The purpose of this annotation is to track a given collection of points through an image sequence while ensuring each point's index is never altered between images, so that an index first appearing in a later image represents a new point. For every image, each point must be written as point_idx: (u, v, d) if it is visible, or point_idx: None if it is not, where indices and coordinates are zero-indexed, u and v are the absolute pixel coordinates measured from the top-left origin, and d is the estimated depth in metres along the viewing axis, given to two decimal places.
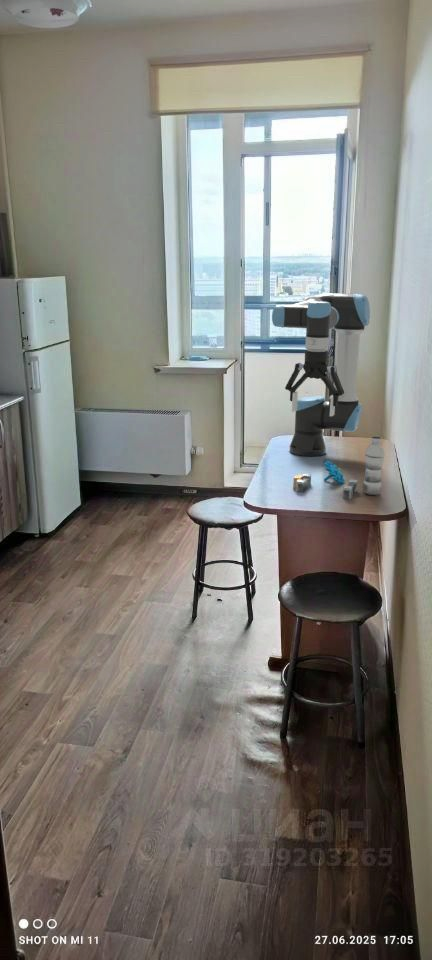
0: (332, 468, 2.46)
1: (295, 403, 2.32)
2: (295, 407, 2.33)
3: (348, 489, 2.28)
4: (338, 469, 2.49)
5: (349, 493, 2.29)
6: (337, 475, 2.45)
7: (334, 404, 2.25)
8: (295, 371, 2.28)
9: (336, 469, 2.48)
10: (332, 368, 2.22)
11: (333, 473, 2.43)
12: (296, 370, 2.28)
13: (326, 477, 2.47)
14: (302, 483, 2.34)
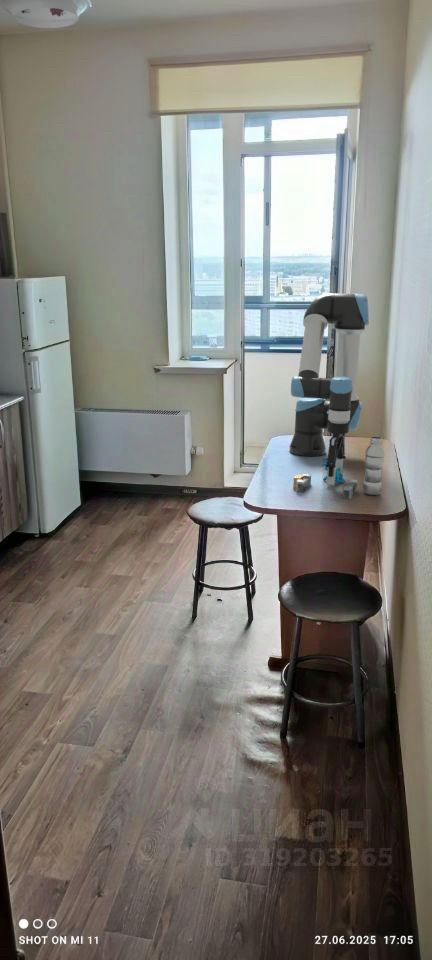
0: None
1: None
2: None
3: (348, 489, 2.28)
4: (338, 469, 2.49)
5: (349, 493, 2.29)
6: (336, 475, 2.45)
7: None
8: None
9: None
10: None
11: None
12: None
13: (325, 477, 2.47)
14: (302, 483, 2.34)
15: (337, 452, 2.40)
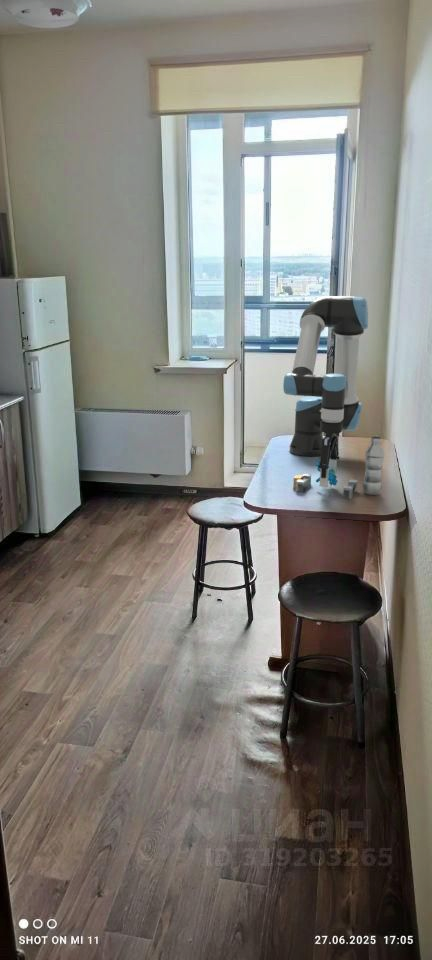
0: None
1: None
2: None
3: (348, 489, 2.28)
4: (331, 470, 2.39)
5: (349, 493, 2.29)
6: (329, 476, 2.34)
7: None
8: None
9: (329, 470, 2.37)
10: (322, 440, 2.27)
11: None
12: None
13: (318, 478, 2.37)
14: (302, 483, 2.34)
15: (330, 452, 2.30)
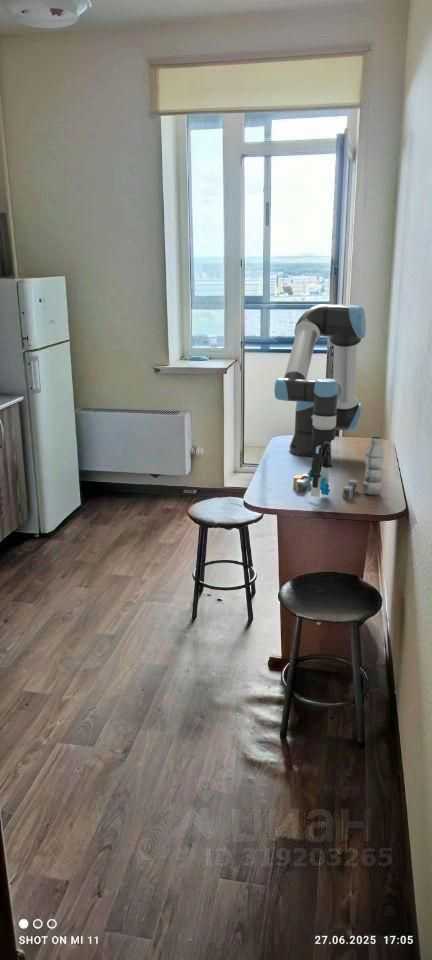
0: None
1: None
2: None
3: (348, 489, 2.28)
4: (323, 479, 2.29)
5: (349, 493, 2.29)
6: (321, 485, 2.25)
7: None
8: None
9: (321, 479, 2.28)
10: None
11: None
12: None
13: (310, 487, 2.27)
14: (302, 483, 2.34)
15: (322, 461, 2.20)
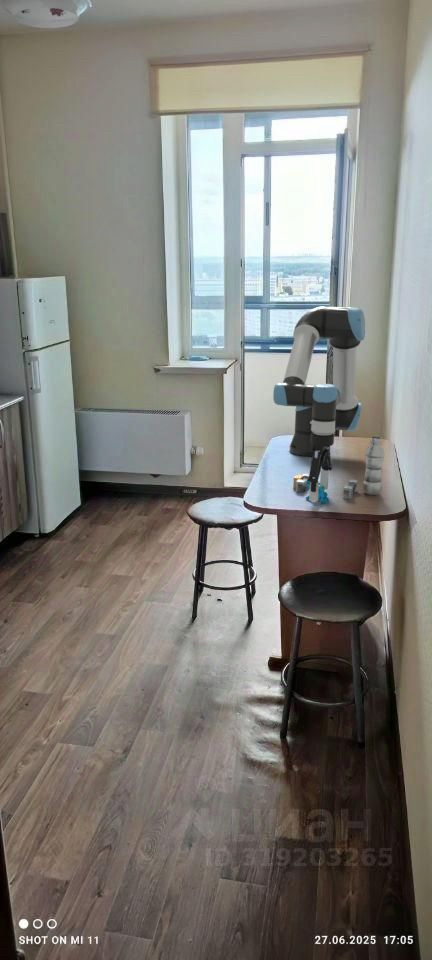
0: None
1: (323, 481, 2.31)
2: None
3: (348, 489, 2.28)
4: (322, 487, 2.29)
5: (349, 493, 2.29)
6: (320, 494, 2.25)
7: None
8: None
9: (320, 487, 2.28)
10: None
11: None
12: None
13: None
14: (302, 483, 2.34)
15: (321, 466, 2.19)
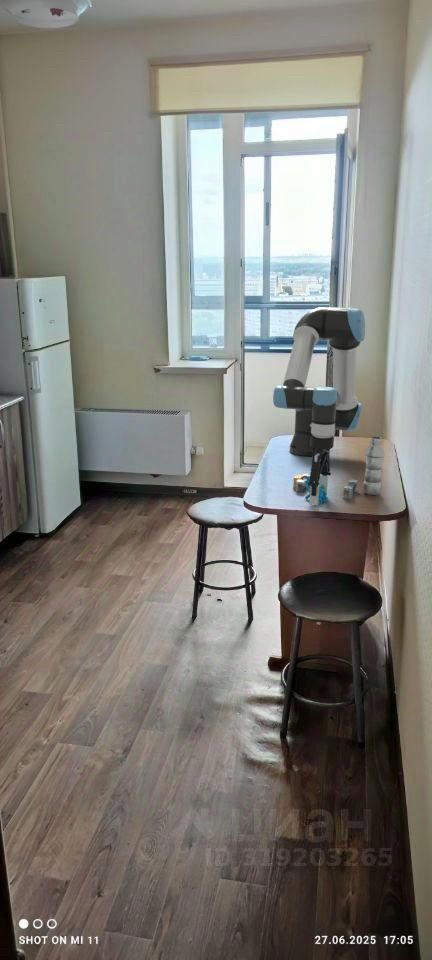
0: None
1: None
2: None
3: (348, 489, 2.28)
4: (322, 486, 2.29)
5: (349, 493, 2.29)
6: (319, 493, 2.25)
7: None
8: None
9: (319, 486, 2.28)
10: None
11: None
12: None
13: (307, 495, 2.27)
14: (302, 483, 2.34)
15: (321, 469, 2.20)
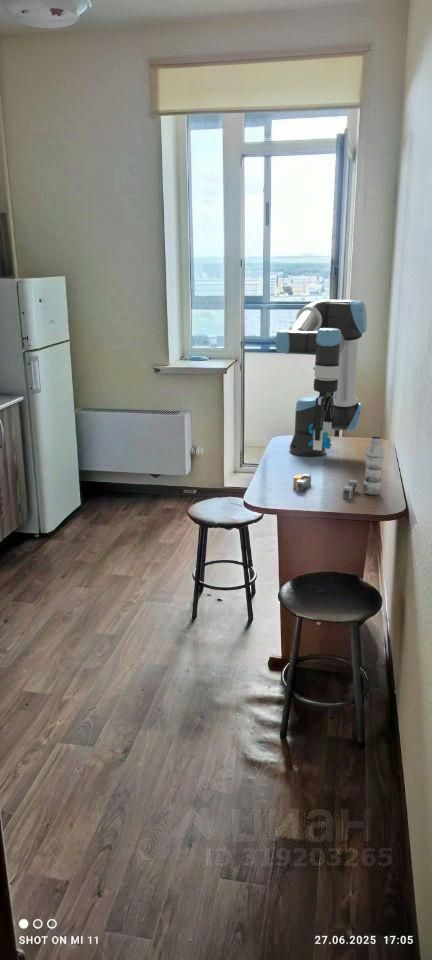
0: None
1: None
2: None
3: (348, 489, 2.28)
4: (325, 433, 2.24)
5: (349, 493, 2.29)
6: (322, 439, 2.19)
7: None
8: None
9: None
10: None
11: None
12: None
13: (311, 441, 2.22)
14: (302, 483, 2.34)
15: (324, 413, 2.14)
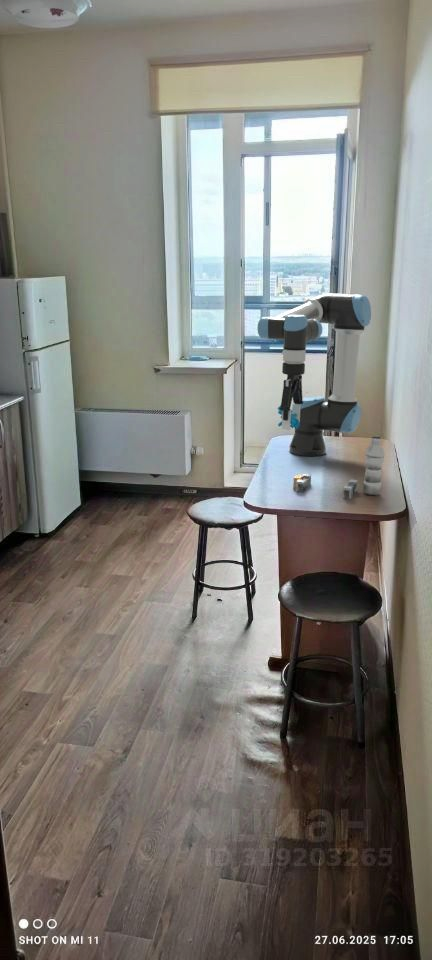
0: None
1: None
2: None
3: (348, 489, 2.28)
4: (294, 414, 2.37)
5: (349, 493, 2.29)
6: (291, 419, 2.33)
7: None
8: None
9: (291, 414, 2.36)
10: None
11: None
12: None
13: (280, 422, 2.36)
14: (302, 483, 2.34)
15: (292, 394, 2.28)
